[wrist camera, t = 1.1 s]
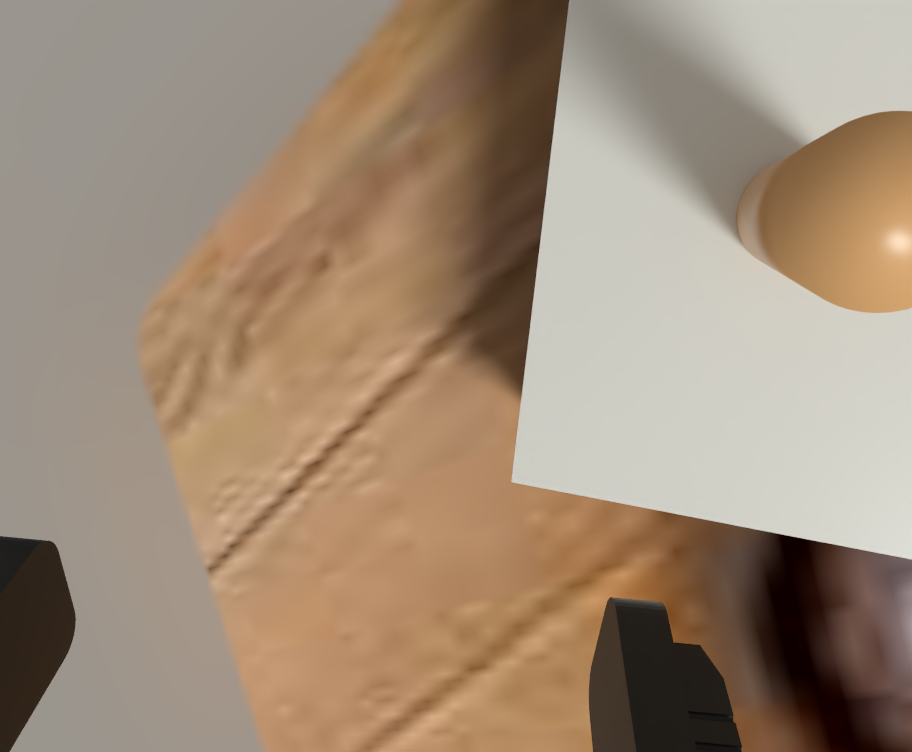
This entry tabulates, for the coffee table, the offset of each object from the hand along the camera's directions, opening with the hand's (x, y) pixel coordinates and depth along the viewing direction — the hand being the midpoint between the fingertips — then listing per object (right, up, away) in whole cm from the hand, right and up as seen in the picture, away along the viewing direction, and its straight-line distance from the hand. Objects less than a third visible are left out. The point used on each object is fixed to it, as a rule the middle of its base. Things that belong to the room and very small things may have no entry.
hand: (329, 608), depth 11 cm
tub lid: (+13, +9, +14) cm, 21 cm away
